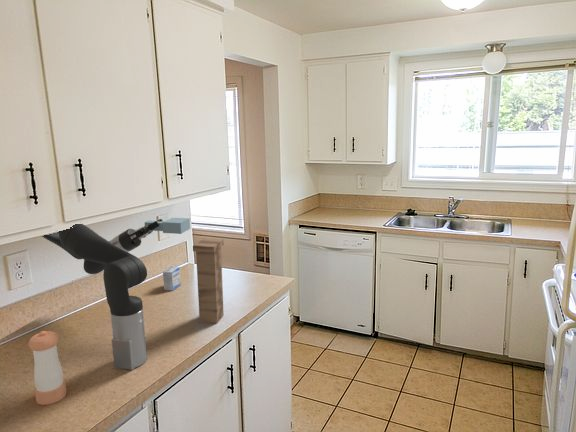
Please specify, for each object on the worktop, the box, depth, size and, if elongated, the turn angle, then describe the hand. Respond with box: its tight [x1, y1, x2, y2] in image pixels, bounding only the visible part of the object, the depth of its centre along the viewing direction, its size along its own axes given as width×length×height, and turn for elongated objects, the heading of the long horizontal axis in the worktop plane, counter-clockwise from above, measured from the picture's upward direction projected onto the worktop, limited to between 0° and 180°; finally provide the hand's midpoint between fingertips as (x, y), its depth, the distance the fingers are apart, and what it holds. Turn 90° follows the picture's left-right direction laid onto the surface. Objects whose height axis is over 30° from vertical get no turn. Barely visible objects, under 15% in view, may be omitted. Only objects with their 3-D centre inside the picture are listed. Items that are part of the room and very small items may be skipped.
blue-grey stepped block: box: [144, 217, 191, 235], centre depth 157 cm, size 8×16×4 cm, turn 79°
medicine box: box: [162, 266, 182, 292], centre depth 192 cm, size 8×4×9 cm, turn 168°
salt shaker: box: [27, 330, 67, 406], centre depth 113 cm, size 7×7×19 cm
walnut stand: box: [192, 238, 225, 324], centre depth 158 cm, size 10×8×30 cm
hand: (160, 222), depth 157 cm, fingers closed on blue-grey stepped block, 3 cm apart
